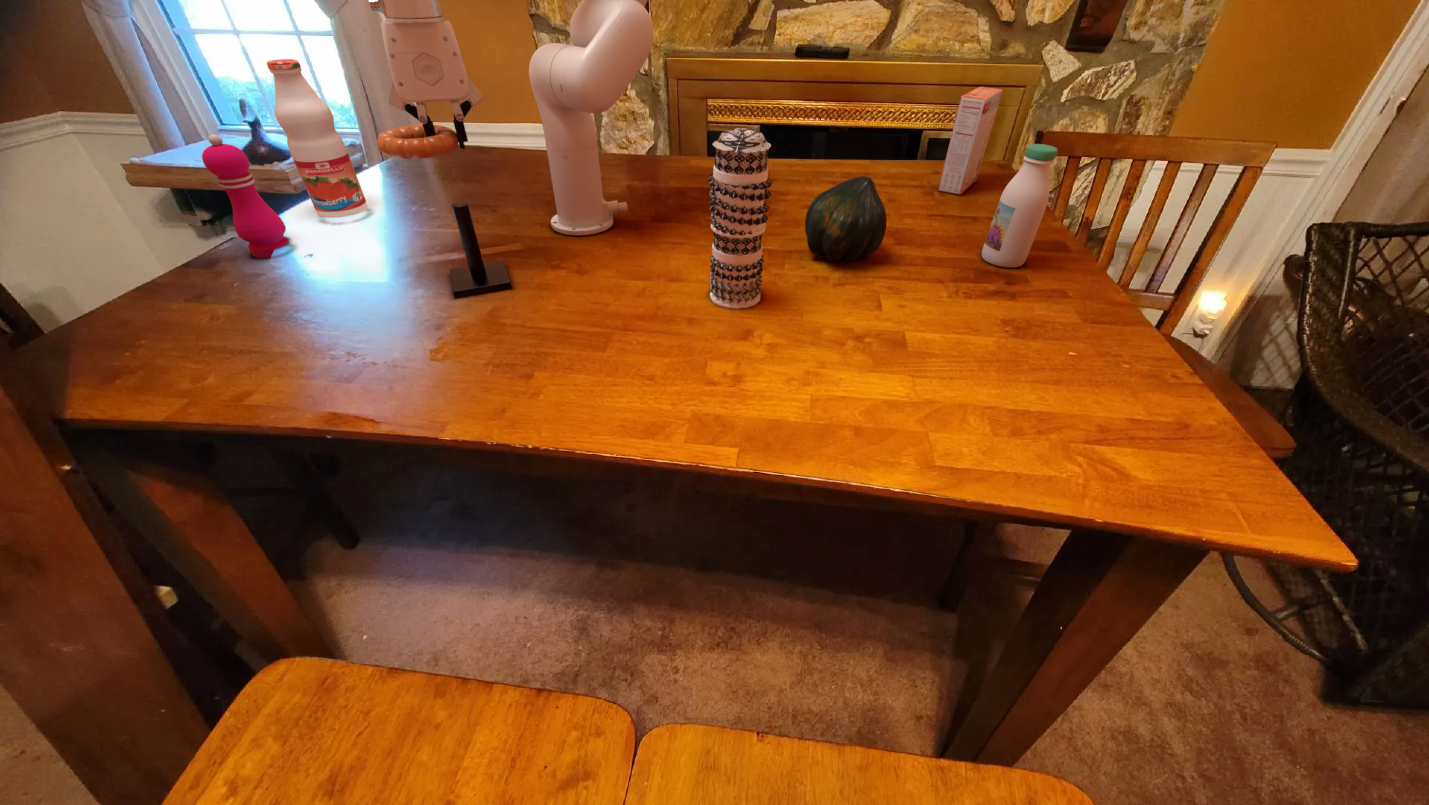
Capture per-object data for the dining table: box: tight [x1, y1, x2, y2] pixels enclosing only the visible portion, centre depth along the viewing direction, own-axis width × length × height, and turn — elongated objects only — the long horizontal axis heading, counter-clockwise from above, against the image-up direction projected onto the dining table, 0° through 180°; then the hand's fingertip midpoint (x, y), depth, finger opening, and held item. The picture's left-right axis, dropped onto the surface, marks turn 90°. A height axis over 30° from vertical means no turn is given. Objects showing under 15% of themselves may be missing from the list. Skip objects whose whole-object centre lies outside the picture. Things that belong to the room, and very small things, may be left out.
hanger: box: [448, 201, 512, 299], centre depth 90 cm, size 9×9×13 cm
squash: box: [804, 175, 888, 261], centre depth 101 cm, size 14×15×15 cm
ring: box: [376, 124, 459, 160], centre depth 87 cm, size 12×12×3 cm
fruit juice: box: [266, 58, 369, 219], centre depth 108 cm, size 9×9×28 cm
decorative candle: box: [708, 127, 773, 310], centre depth 84 cm, size 9×9×25 cm
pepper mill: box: [201, 133, 290, 259], centre depth 96 cm, size 7×7×20 cm
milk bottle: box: [980, 143, 1059, 268], centre depth 98 cm, size 8×8×20 cm
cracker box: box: [937, 86, 1003, 196], centre depth 131 cm, size 14×6×21 cm, turn 144°
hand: (449, 146), depth 89 cm, fingers closed on ring, 3 cm apart
